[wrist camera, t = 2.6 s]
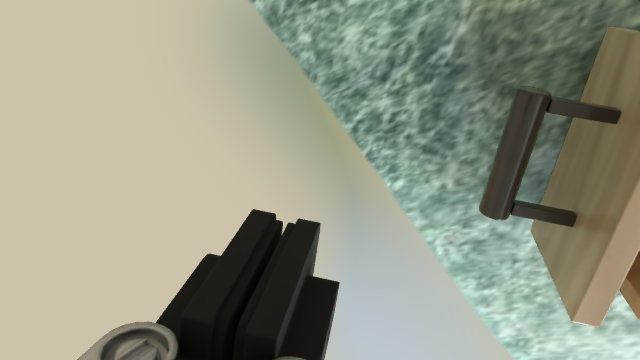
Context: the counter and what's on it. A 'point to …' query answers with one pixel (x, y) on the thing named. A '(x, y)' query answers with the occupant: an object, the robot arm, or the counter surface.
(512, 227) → the counter surface
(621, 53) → the drawer
